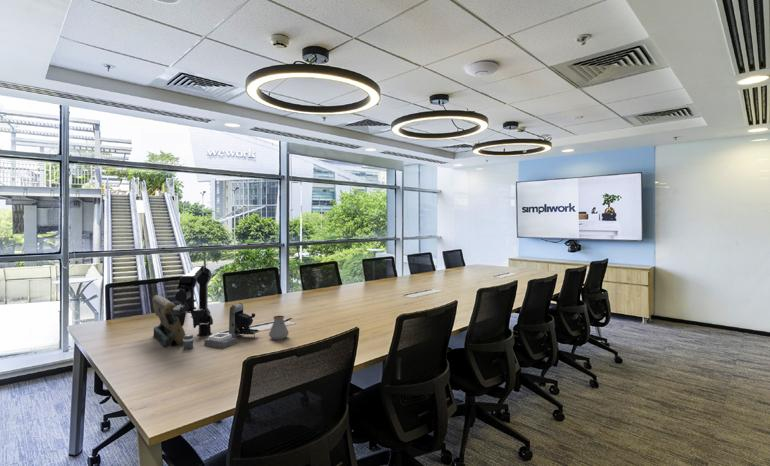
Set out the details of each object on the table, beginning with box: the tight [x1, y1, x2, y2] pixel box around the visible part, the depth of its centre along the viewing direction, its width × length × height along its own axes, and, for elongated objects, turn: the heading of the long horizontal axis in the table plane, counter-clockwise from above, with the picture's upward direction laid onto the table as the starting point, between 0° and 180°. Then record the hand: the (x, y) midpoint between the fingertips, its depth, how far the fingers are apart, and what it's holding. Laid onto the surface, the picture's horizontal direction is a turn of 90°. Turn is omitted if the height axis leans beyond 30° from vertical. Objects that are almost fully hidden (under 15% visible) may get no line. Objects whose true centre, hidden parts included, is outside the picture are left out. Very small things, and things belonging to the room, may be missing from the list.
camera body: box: [203, 332, 238, 349], centre depth 224 cm, size 14×10×5 cm
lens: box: [182, 334, 194, 351], centre depth 216 cm, size 5×5×7 cm
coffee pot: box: [268, 315, 294, 341], centre depth 233 cm, size 21×12×15 cm, turn 42°
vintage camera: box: [228, 302, 261, 339], centre depth 237 cm, size 10×15×20 cm, turn 79°
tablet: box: [151, 294, 187, 348], centre depth 231 cm, size 33×14×25 cm, turn 47°
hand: (188, 326), depth 216 cm, fingers open, 9 cm apart
